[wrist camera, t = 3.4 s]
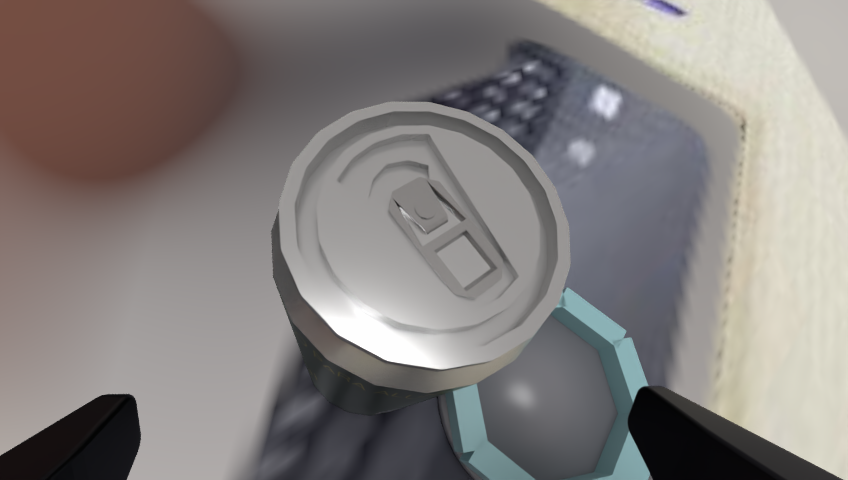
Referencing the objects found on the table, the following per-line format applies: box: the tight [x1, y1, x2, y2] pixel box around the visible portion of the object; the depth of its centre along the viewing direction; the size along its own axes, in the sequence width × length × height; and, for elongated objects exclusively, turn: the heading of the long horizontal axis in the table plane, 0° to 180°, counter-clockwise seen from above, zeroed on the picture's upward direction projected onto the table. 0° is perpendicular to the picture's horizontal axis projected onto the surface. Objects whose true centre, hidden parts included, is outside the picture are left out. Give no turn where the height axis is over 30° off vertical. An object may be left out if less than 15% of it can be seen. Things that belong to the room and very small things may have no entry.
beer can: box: [271, 102, 571, 415], centre depth 12 cm, size 5×5×12 cm
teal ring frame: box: [438, 287, 650, 480], centre depth 17 cm, size 9×10×2 cm
